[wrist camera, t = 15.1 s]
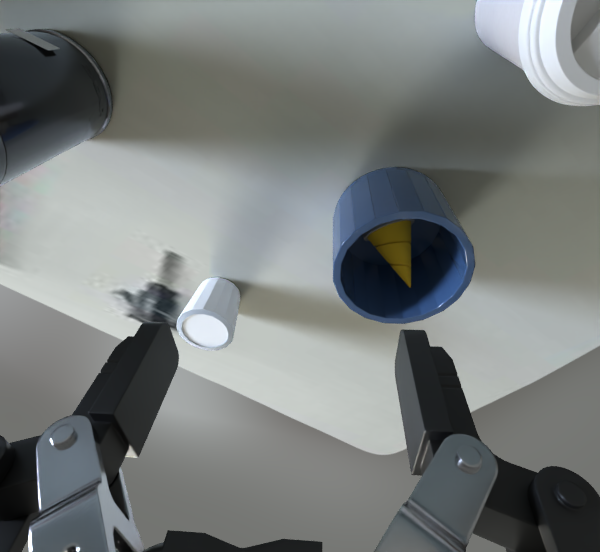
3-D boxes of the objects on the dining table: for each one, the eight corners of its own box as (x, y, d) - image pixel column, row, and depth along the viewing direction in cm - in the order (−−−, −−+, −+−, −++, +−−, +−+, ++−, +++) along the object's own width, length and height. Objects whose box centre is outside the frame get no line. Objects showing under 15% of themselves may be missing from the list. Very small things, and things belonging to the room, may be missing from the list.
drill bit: (412, 184, 37) (448, 275, 36) (377, 208, 42) (407, 290, 40) (375, 184, 34) (413, 283, 33) (342, 210, 39) (373, 299, 37)
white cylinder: (245, 315, 51) (234, 354, 45) (196, 310, 51) (179, 348, 45) (245, 276, 47) (232, 313, 41) (191, 270, 47) (172, 306, 41)
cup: (332, 265, 45) (332, 322, 37) (334, 167, 37) (334, 211, 29) (434, 266, 44) (457, 325, 36) (457, 166, 36) (492, 211, 28)
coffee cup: (565, -121, 25) (786, -243, 13) (603, 15, 29) (799, 21, 17) (433, -8, 29) (504, -18, 17) (483, 98, 33) (570, 151, 21)
